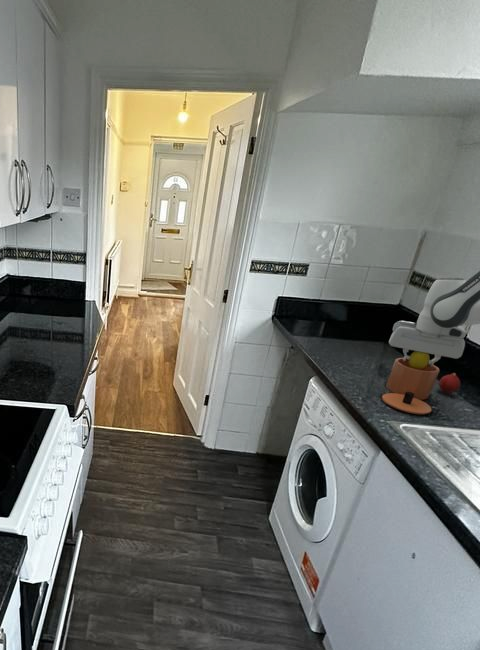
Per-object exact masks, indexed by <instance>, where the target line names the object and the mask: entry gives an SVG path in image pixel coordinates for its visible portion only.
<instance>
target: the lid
mask: <svg viewBox="0 0 480 650" xmlns="http://www.w3.org/2000/svg"><path fill="white" fill-rule="evenodd" d="M381 400H382V401H383V402H384V403H385V404H386V405H388V406H390V407H391V408H394V409H396V410H399V411H401V412H404V413H409V414H414V415H429V414H430V413H431V412H432V410H433V408H432V407H431V406H430V405H429V404H428V403H426V402H425V401H423V400H419V399H416V398H414V393H412V392H406V393H405V395H403V394H397V393H394V392H387V393H383V394H382V396H381Z"/></svg>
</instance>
